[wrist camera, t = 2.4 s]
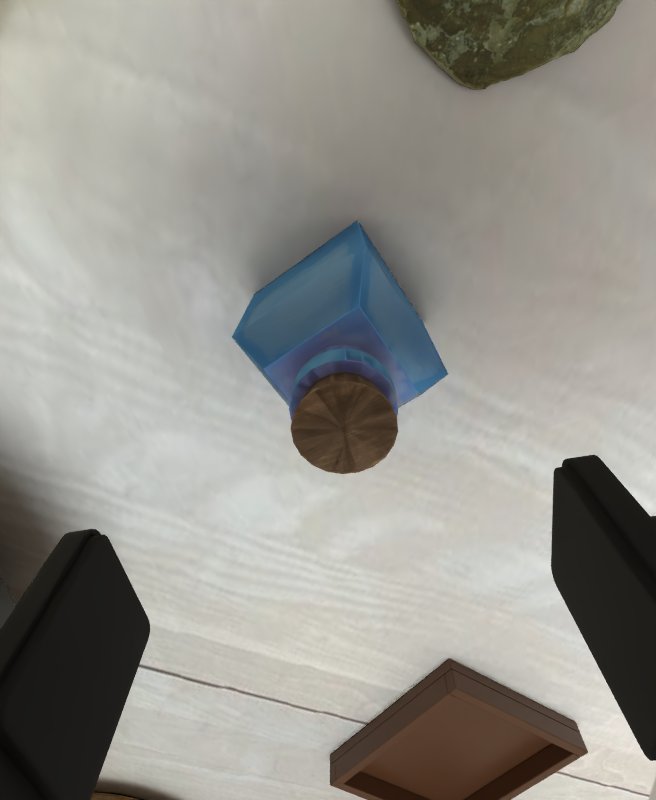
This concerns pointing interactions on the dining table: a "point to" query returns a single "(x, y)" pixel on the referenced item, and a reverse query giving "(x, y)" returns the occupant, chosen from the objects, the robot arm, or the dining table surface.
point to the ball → (5, 603)
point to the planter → (110, 797)
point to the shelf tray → (456, 743)
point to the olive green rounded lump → (501, 34)
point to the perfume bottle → (340, 351)
